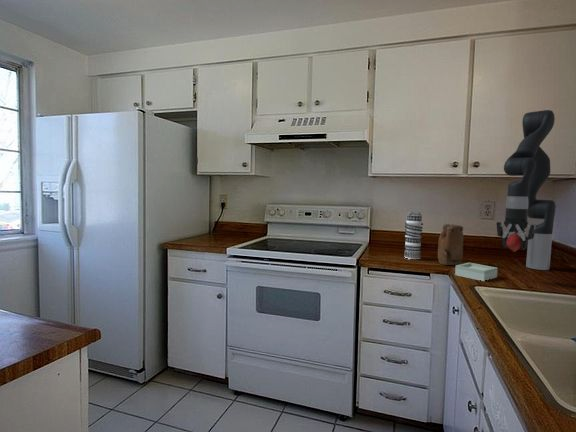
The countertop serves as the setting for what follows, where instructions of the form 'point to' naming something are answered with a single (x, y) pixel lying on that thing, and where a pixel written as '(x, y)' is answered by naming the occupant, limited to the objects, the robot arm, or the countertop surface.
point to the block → (450, 245)
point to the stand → (476, 271)
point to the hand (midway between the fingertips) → (514, 248)
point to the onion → (514, 242)
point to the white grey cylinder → (413, 235)
